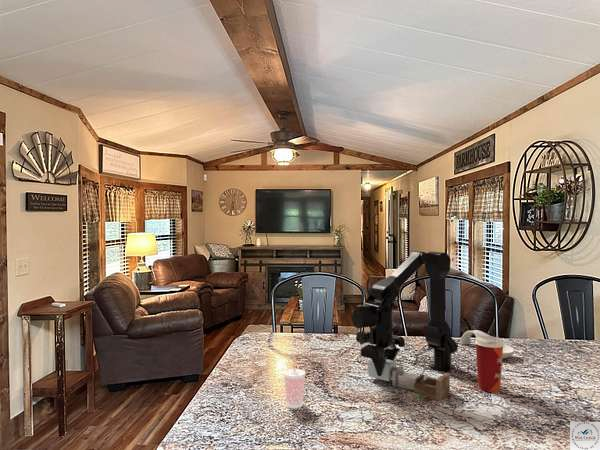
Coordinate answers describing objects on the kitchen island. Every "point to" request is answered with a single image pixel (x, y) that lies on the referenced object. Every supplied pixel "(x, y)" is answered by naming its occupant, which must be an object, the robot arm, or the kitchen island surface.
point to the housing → (432, 388)
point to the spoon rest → (467, 335)
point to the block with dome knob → (387, 370)
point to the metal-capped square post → (407, 379)
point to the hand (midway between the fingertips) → (383, 373)
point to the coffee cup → (489, 362)
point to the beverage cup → (294, 386)
